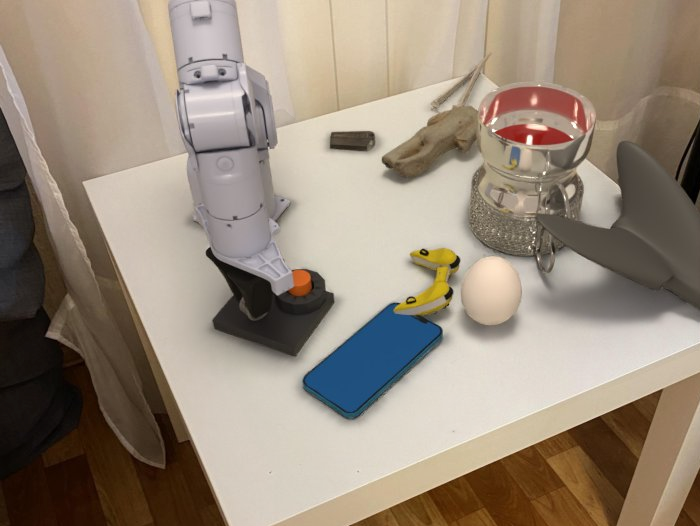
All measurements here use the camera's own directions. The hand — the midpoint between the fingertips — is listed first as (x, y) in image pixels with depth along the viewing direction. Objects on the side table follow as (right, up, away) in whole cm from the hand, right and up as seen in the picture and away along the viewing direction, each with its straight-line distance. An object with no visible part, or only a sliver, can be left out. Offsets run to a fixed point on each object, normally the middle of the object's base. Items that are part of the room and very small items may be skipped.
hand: (254, 306), depth 90 cm
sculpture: (+20, +21, +22) cm, 36 cm away
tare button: (+5, +2, +2) cm, 5 cm away
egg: (+25, -1, +2) cm, 25 cm away
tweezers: (+26, +37, +32) cm, 55 cm away
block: (+9, +24, +24) cm, 35 cm away
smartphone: (+13, -6, -2) cm, 14 cm away
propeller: (+43, +5, +3) cm, 43 cm away
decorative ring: (0, -1, +1) cm, 2 cm away
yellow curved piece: (+19, +2, +5) cm, 19 cm away
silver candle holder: (+32, +10, +11) cm, 35 cm away
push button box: (+2, -1, +3) cm, 3 cm away
